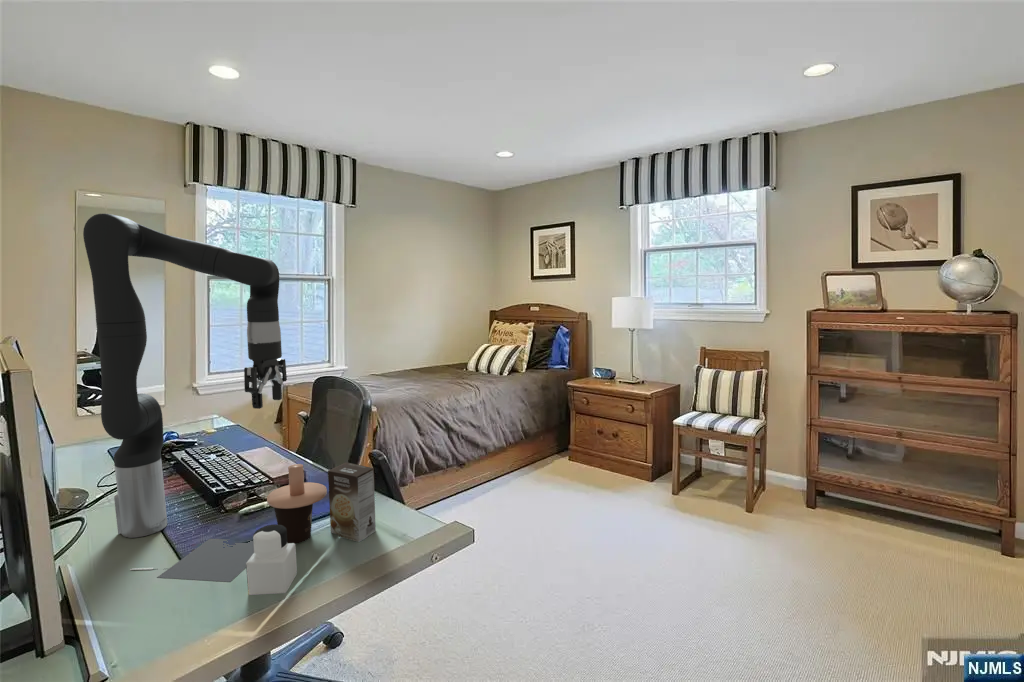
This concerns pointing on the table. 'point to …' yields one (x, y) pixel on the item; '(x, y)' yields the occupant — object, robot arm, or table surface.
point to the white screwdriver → (142, 569)
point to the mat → (212, 562)
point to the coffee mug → (296, 522)
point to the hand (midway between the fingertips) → (267, 403)
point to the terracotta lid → (296, 491)
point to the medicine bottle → (271, 561)
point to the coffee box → (352, 501)
